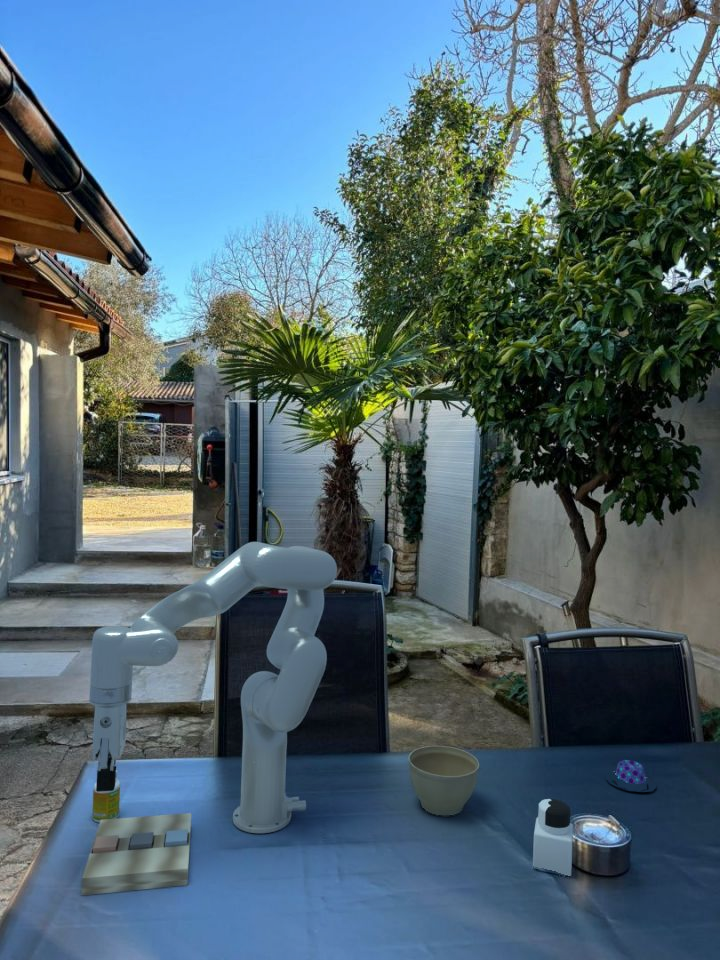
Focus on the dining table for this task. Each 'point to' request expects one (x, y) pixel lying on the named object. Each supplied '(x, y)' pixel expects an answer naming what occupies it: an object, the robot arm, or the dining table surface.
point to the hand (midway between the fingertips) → (105, 789)
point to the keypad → (138, 856)
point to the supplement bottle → (106, 803)
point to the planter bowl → (443, 778)
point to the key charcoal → (141, 841)
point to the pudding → (630, 772)
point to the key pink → (106, 844)
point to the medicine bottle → (553, 837)
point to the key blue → (176, 838)
